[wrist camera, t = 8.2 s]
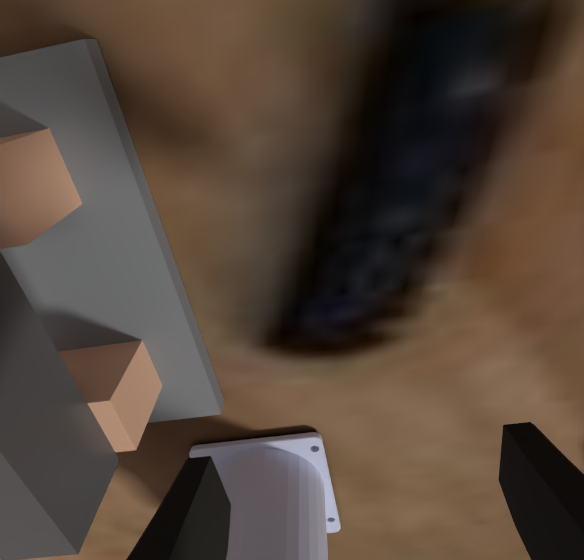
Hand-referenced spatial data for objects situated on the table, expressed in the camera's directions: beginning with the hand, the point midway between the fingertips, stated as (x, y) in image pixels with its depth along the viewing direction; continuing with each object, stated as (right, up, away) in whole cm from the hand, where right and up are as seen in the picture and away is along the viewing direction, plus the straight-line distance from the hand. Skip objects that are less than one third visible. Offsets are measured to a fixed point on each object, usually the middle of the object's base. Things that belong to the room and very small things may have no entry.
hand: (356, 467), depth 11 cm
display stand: (-12, +5, +10) cm, 16 cm away
